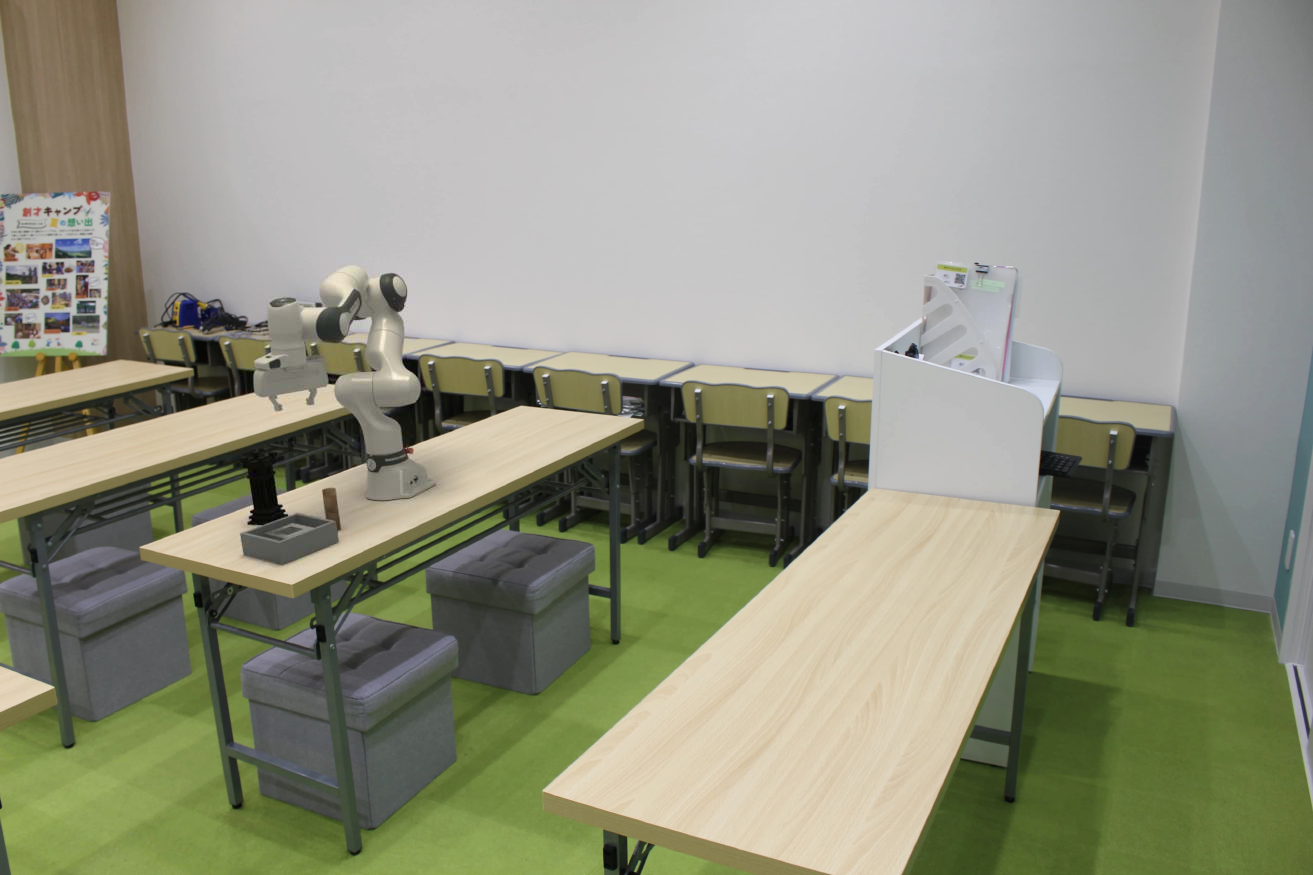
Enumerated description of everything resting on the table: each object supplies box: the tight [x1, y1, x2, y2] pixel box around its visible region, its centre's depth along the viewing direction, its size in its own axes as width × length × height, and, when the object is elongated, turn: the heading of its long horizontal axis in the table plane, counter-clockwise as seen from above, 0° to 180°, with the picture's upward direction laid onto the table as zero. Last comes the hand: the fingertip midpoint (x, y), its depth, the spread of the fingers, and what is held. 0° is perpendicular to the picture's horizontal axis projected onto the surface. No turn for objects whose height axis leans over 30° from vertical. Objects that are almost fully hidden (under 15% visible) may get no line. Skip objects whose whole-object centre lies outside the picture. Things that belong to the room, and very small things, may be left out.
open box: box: [239, 512, 340, 566], centre depth 250 cm, size 18×16×6 cm
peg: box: [321, 487, 342, 532], centre depth 262 cm, size 4×4×12 cm
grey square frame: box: [264, 523, 313, 541], centre depth 250 cm, size 9×9×4 cm
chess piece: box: [239, 450, 289, 526], centre depth 272 cm, size 8×8×20 cm
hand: (294, 407), depth 260 cm, fingers open, 8 cm apart
